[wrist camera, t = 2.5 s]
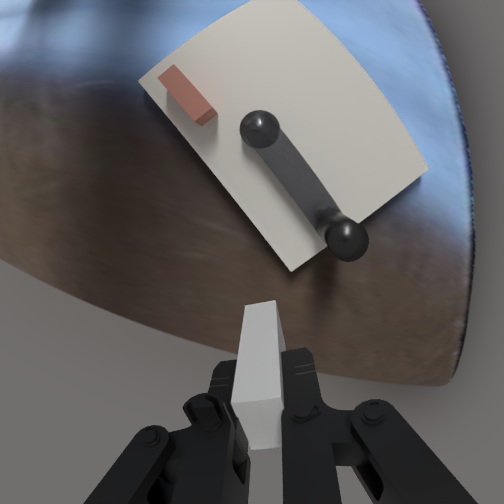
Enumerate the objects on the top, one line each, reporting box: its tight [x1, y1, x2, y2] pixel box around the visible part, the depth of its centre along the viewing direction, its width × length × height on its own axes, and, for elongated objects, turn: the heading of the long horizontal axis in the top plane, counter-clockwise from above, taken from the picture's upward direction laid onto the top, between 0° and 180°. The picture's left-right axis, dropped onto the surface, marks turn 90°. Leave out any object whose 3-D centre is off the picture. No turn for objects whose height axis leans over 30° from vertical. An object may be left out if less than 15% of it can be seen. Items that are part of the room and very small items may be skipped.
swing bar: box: [239, 110, 369, 262], centre depth 22 cm, size 14×4×8 cm, turn 38°
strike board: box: [138, 0, 429, 272], centre depth 24 cm, size 26×19×5 cm
